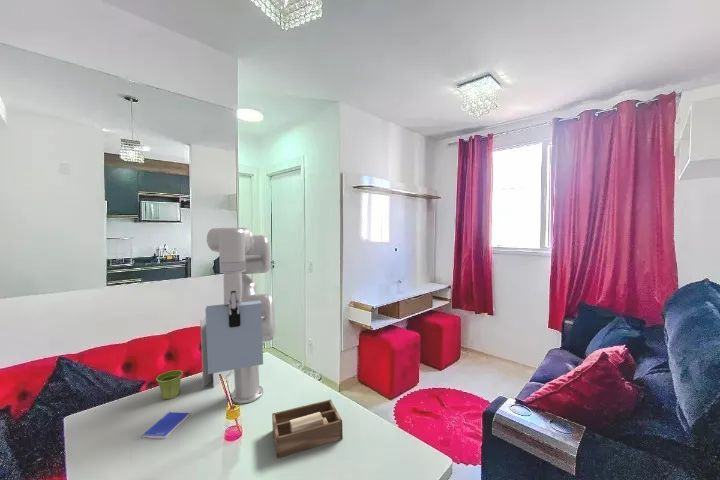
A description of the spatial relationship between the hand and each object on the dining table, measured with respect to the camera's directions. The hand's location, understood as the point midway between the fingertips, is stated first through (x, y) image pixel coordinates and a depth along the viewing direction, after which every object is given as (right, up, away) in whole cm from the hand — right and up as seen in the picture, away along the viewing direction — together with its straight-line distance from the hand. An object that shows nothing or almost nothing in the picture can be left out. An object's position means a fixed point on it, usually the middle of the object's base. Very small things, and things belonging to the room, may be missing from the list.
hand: (235, 323), depth 95 cm
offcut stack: (+23, -39, +2) cm, 45 cm away
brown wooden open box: (+22, -39, +5) cm, 45 cm away
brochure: (-26, -38, +44) cm, 63 cm away
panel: (0, -14, +1) cm, 14 cm away
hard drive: (-29, -40, +11) cm, 51 cm away
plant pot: (-40, -39, +30) cm, 64 cm away
